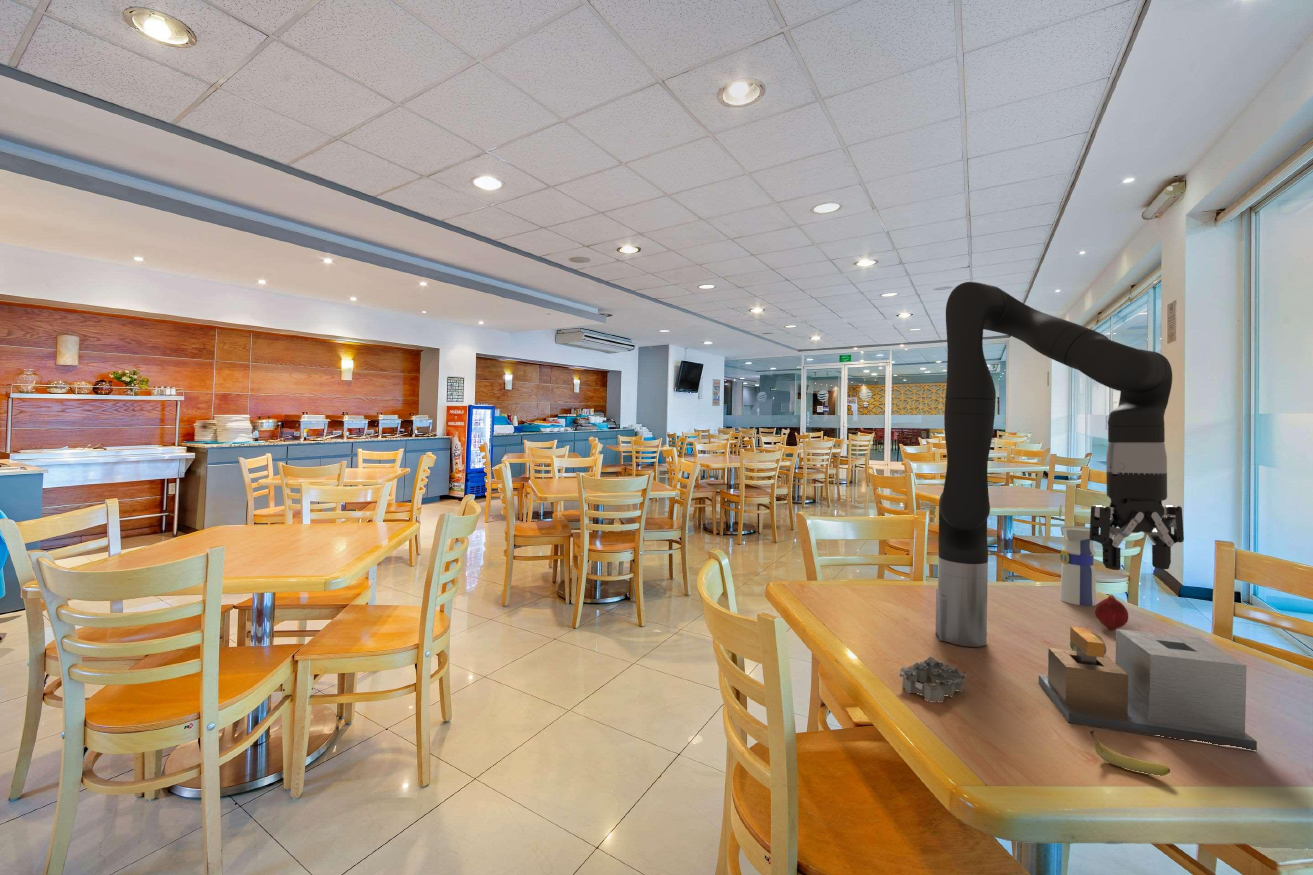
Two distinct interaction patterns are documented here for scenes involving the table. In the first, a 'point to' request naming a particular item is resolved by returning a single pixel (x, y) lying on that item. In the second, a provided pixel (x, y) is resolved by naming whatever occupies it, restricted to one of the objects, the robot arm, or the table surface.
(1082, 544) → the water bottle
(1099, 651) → the key
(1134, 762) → the banana
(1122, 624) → the onion
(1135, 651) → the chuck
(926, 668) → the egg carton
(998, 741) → the table surface
